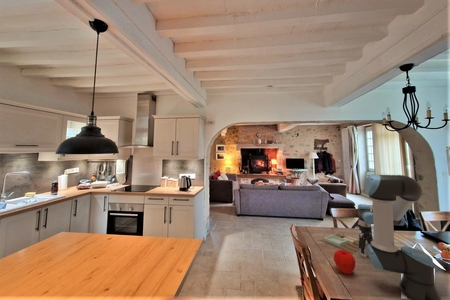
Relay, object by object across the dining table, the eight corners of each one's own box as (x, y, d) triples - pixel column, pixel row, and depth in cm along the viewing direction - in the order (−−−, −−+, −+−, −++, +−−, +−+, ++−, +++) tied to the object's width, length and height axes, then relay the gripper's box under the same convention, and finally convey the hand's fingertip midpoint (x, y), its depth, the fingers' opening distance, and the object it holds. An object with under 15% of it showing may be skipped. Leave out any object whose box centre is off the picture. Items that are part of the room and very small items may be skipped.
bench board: (352, 255, 133) (351, 247, 133) (320, 241, 156) (319, 234, 156) (370, 246, 146) (370, 238, 146) (338, 234, 169) (338, 228, 169)
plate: (352, 244, 147) (352, 241, 147) (342, 240, 154) (342, 238, 154) (357, 242, 150) (357, 239, 151) (347, 238, 158) (347, 236, 158)
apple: (330, 269, 117) (329, 248, 118) (342, 265, 122) (341, 245, 122) (347, 280, 106) (346, 258, 107) (360, 275, 110) (359, 253, 111)
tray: (339, 247, 143) (339, 243, 143) (324, 241, 154) (323, 237, 155) (347, 243, 148) (347, 240, 149) (332, 237, 160) (332, 234, 160)
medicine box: (369, 254, 134) (368, 242, 135) (374, 257, 130) (373, 245, 130) (359, 254, 134) (358, 243, 134) (364, 258, 130) (363, 246, 130)
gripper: (363, 230, 125) (365, 262, 124) (378, 224, 135) (379, 254, 134) (351, 226, 131) (353, 257, 130) (366, 221, 141) (368, 249, 140)
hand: (366, 255), depth 132 cm, fingers open, 9 cm apart
